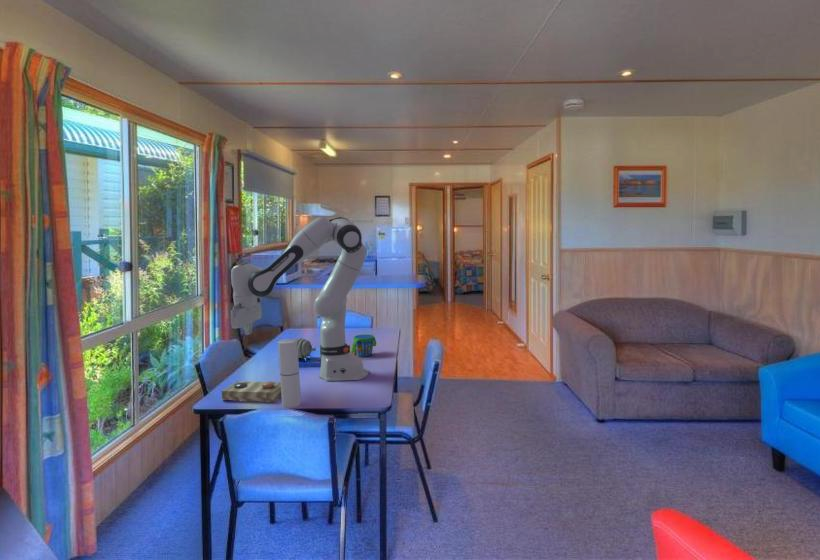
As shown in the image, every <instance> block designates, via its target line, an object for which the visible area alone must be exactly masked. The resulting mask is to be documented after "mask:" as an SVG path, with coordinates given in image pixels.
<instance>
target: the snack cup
mask: <svg viewBox="0 0 820 560" xmlns="http://www.w3.org/2000/svg"><path fill="white" fill-rule="evenodd" d="M376 346H377V340H376V338H375V335H373V334H367V333H365V334H356V335H355V336H353V342H352V347H351V349H352V353H357V354H356V356H357V357H358V358H366V357H367V358H368V357H370V356H373V348H374V347H376Z"/></svg>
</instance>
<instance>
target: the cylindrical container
mask: <svg viewBox="0 0 820 560" xmlns="http://www.w3.org/2000/svg"><path fill="white" fill-rule="evenodd" d="M296 339H297V338H286V339H281V340H278V341H277V347H278V349H277V350H278V351H277V352H278V364H279V365H278V366H279V377H280V383H281V395H282V396H281V405H282V407H283V408H295V407H299V406H300V405H301V404H302V397H301V383H300V367H299V359H298V348H297V340H296Z"/></svg>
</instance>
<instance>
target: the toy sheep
mask: <svg viewBox="0 0 820 560" xmlns="http://www.w3.org/2000/svg"><path fill="white" fill-rule="evenodd" d="M295 339H296V340H297V348H298V358H306V359H307V357H308V356H310V357H311V354H312V352H316V349H317V348H316V347H312V344H311V341H310V340H307V339H305V338H295Z"/></svg>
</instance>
